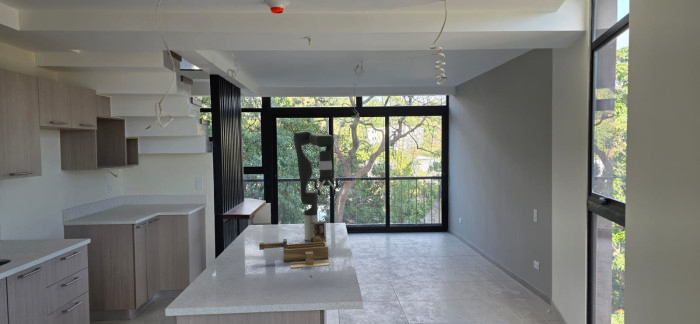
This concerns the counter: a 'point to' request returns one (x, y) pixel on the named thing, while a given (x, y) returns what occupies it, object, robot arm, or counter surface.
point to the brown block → (270, 245)
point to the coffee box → (318, 232)
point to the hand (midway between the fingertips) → (326, 195)
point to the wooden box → (298, 251)
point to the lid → (309, 262)
